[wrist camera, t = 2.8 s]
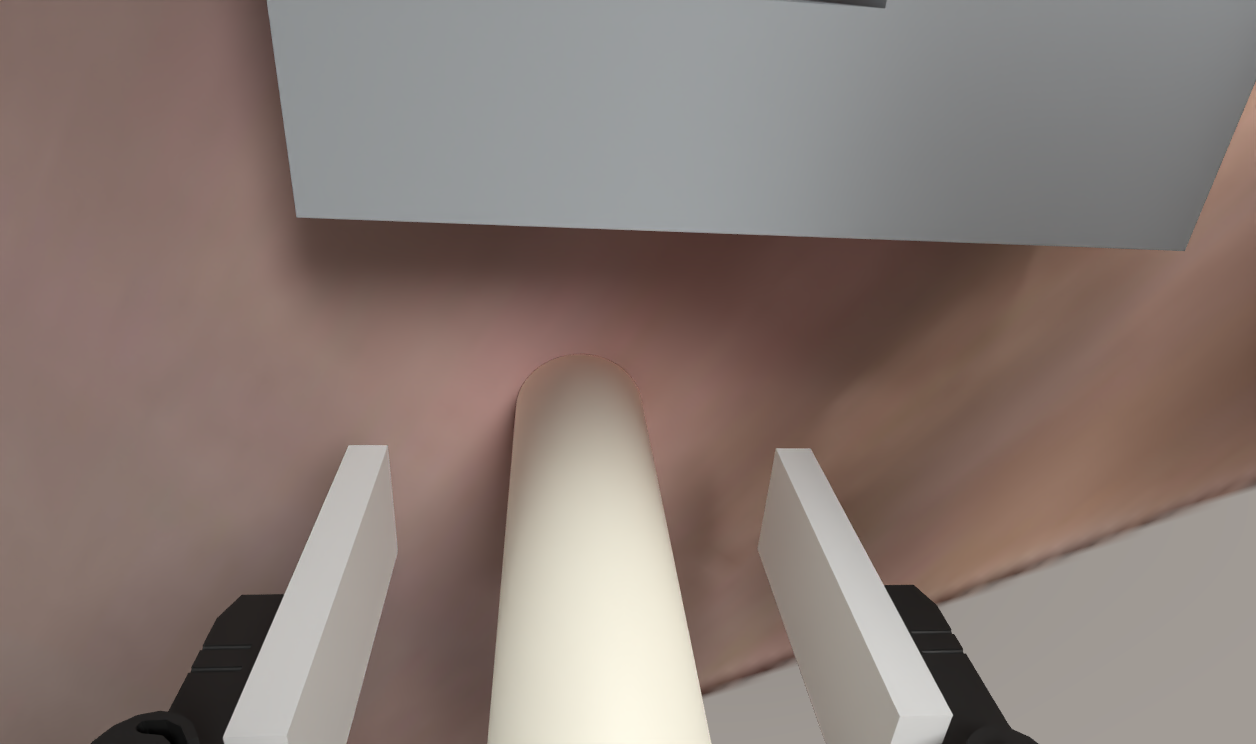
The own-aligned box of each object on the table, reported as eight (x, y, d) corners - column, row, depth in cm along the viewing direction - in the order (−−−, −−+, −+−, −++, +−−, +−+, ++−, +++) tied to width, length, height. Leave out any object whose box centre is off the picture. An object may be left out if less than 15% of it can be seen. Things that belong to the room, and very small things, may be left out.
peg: (515, 352, 19) (466, 861, 8) (646, 355, 19) (764, 846, 8) (516, 462, 20) (474, 1014, 9) (637, 462, 20) (728, 995, 10)
